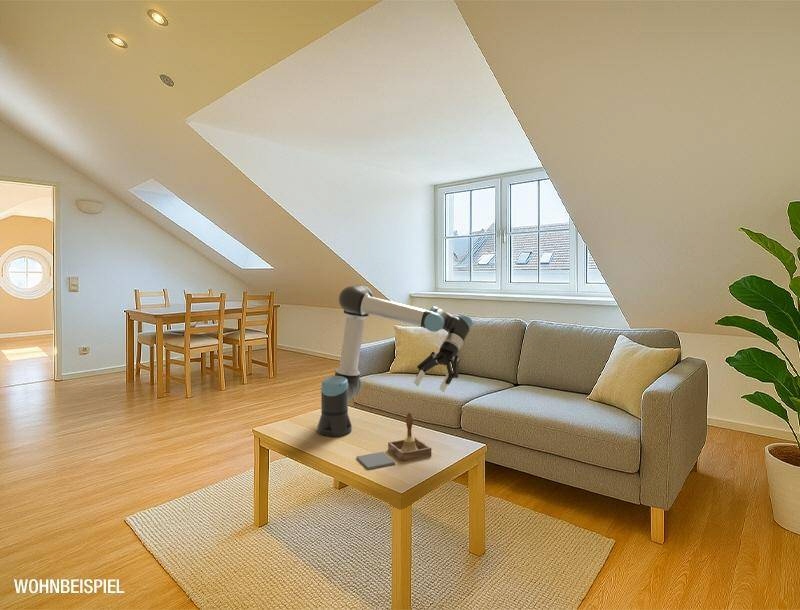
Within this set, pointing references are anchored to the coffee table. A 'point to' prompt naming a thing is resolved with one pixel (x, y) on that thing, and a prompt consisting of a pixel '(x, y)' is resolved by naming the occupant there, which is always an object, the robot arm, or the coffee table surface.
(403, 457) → the brown wooden square frame
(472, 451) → the coffee table surface
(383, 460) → the grey rubber pad
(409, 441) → the hand bell
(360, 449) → the coffee table surface
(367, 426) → the coffee table surface
